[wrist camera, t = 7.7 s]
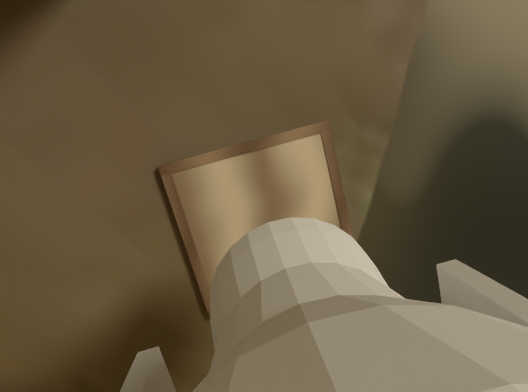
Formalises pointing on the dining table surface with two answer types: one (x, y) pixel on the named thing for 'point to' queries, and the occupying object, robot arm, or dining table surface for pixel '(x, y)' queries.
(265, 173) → the picture frame
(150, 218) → the dining table surface
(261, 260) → the cup
